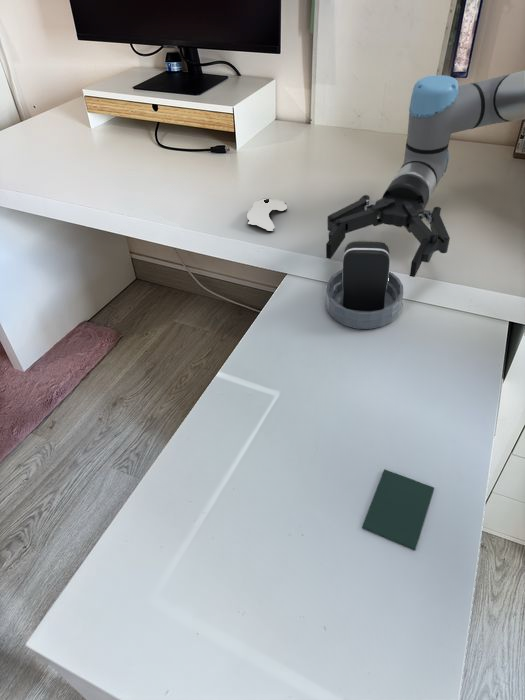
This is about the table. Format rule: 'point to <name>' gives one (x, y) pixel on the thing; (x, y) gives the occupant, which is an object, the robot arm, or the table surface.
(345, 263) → the battery charger
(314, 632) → the table surface
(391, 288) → the bowl
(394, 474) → the mat
